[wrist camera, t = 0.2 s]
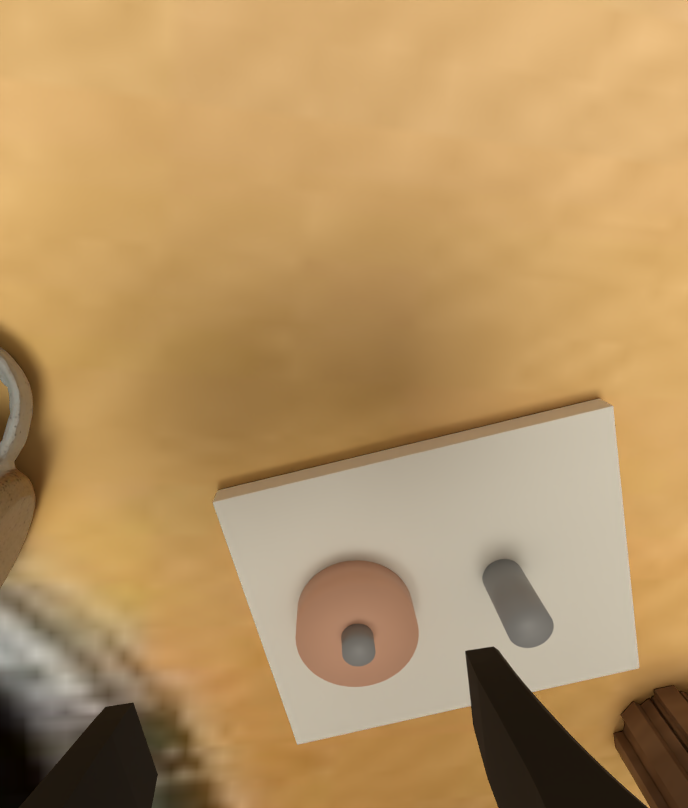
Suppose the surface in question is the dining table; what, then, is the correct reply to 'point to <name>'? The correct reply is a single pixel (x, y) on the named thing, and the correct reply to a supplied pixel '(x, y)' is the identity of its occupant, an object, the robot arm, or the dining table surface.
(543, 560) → the gear board
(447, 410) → the dining table surface
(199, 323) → the dining table surface
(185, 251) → the dining table surface
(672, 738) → the walnut pinion gear
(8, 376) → the ceramic mug
